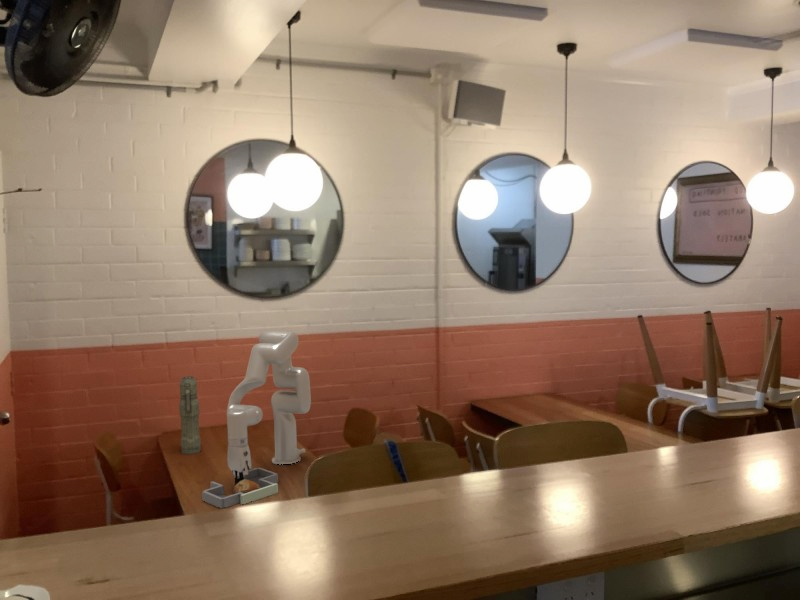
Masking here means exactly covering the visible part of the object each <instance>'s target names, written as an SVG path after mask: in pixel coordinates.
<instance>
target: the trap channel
mask: <svg viewBox="0 0 800 600" xmlns="http://www.w3.org/2000/svg"><path fill="white" fill-rule="evenodd" d="M244 479H247V480H250V481H253V482H255V483H256V484H258V485H259V487H261V488H260V489H257V490H254V491H251V492H248V493H245V494H244V493H241V492H239V493H236V494H233V493H232V494H231V495H225V489H224V488H225V485H223V484H221V483H218V482H216V481H210V482H209V484H210V485H209V486H210V488H208V489H204V490H203V491H201V497H202V499H201V500H203V501H202V502H204V501H205V503H207V504H208V505H212V506H214V507H216V508H218V507H220V508H219V509H225V508H224V507H226V508H229V507H232V506H235V505H237V503H238V504H240V505H242V504H244V505H246V503H247V504H248V503H252V502H255V501H258V500H261V499H264V498H267V497H270V496H273V495H276V494H278V493H279V484H278V483H279V474H278V473H276V472H274V471H271V470H268V469H265V468H262V467H254V468H251V470H248V475H245V477H244ZM251 501H252V502H251Z"/></svg>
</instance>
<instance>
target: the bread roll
mask: <svg viewBox="0 0 800 600" xmlns="http://www.w3.org/2000/svg"><path fill="white" fill-rule="evenodd" d="M260 488H261V487H259V485H258V484H256V483H255V482H253V481H250V480H247V479H244V480H242V481H240V482H238V483H237V484H236V486H235V485H234V487H233V490H232V495H233V494H236V493H239V492H241V493H244V494H245V493H248V492H251V491H254V490H257V489H260Z"/></svg>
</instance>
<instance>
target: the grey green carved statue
mask: <svg viewBox="0 0 800 600" xmlns="http://www.w3.org/2000/svg"><path fill="white" fill-rule="evenodd" d="M179 394H180V401H179V404H178V405H179V406H178V407H179V417H180V424H181V425H180V426H181V428H180V429H181V438H180V449H181V450H180V451H181V454H182V455H186V454H189V455H190V456H191V455H197V454H199V453H201V452H202V450H201V446H202V440H201V437H200V423H199V422H200V421H199V416H200V402H199V399H198V384H197V380H196V378H195V377H194V376H183V377H181V378H180V381H179ZM200 451H201V452H200Z"/></svg>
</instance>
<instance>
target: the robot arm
mask: <svg viewBox="0 0 800 600" xmlns="http://www.w3.org/2000/svg"><path fill="white" fill-rule="evenodd" d="M299 339H300V338H299V335H298V334H297V333H296V332H295V331H289V330H263V331H262V332H260V333H259V335H258V341H259V343H256V344H254V345H253V346H252V347H251V351H250V354H249V359H248V364H247V368H246V373H245V375H244V379H243V380H241V382H240V383H239V384H238V385H237V386H236V387H235V388H234V390H233V391H232V392H231V394H230V396H229V399H228V404H227V407H226V408H227V409H226V422H227V423H226V427H227V453H226V454H227V457H226V458H227V467H228V468H229V469H230V471H231V472H232V473H233V477H234V487H235V486H236V484H237V483H238V482H240V481H242V480H244V477H245V475H248V470H251V469H252V458H251V457H252V456H251V449H250V447H249V443H248V441H249V439H248V438H249V437H248V427H250V426H255V425H257V424H259V423H260V422H261V421H262V419H263V417H264V415H263V414H264V413H263V409H262V408H261V407H260V406H257V405H247V404H241V401H242V400H243V398H244V397H245V396H246V394H247V393H249V392H250V391H252V390H254V389H256V388H260V387H262V386H263V385H265V384H266V382H267V376H268V372H269V369H270V366H271V369H272V381H273V384H274V386H275V387H276V388H279V389H284V390H277V391H275V392H273V394H272V396H271V399H270V404H271V409H272V414H273V424H274V425H273V427H274V433H273V434H274V456H273V457H272V458H271V464H273V465H277V464H279V465H278V466H284V465H283V464H291V465H293V464H292V463H295V464H297V463H296V462H298V461H299V462H301V456H300V455H301V454H304V453H306V449H305V448H301V449H300V448H298V447H297V439H298V438H297V421H296V417H295V416H294V414H299V415H300V414H303V415H304V414H306V413H308V412H309V411H310V409H311V405H312V399H311V398H312V396H311V395H312V394H311V379H310V374H309V372H308V369H306V368H304V367H302V366H301V367H300V366H293V363H292V354H293V353H294V352H295V351H296V350H297V348H298V346H299ZM285 389H286V390H285ZM287 389H289V390H287ZM299 462H298V463H299ZM281 464H282V465H281Z"/></svg>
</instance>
